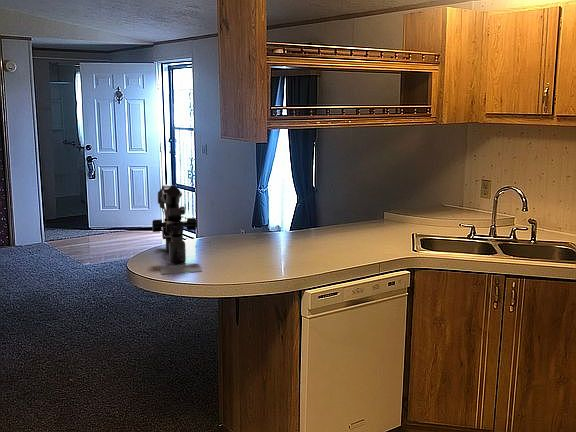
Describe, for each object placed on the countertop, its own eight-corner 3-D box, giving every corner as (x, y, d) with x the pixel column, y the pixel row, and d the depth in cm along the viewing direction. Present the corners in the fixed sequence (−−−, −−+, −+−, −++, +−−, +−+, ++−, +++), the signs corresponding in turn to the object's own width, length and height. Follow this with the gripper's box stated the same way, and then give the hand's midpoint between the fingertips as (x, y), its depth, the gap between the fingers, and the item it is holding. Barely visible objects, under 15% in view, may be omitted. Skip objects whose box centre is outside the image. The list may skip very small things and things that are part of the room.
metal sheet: (159, 267, 258) (159, 266, 258) (198, 264, 262) (198, 264, 262) (161, 274, 248) (161, 273, 248) (202, 271, 252) (202, 270, 252)
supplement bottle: (166, 261, 266) (165, 235, 262) (179, 258, 270) (178, 231, 267) (175, 266, 261) (174, 238, 258) (189, 262, 266) (188, 235, 262)
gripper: (151, 201, 266) (154, 231, 257) (195, 199, 271) (199, 228, 262) (151, 216, 275) (153, 246, 266) (193, 214, 280) (197, 243, 271)
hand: (176, 241), depth 266 cm, fingers closed
